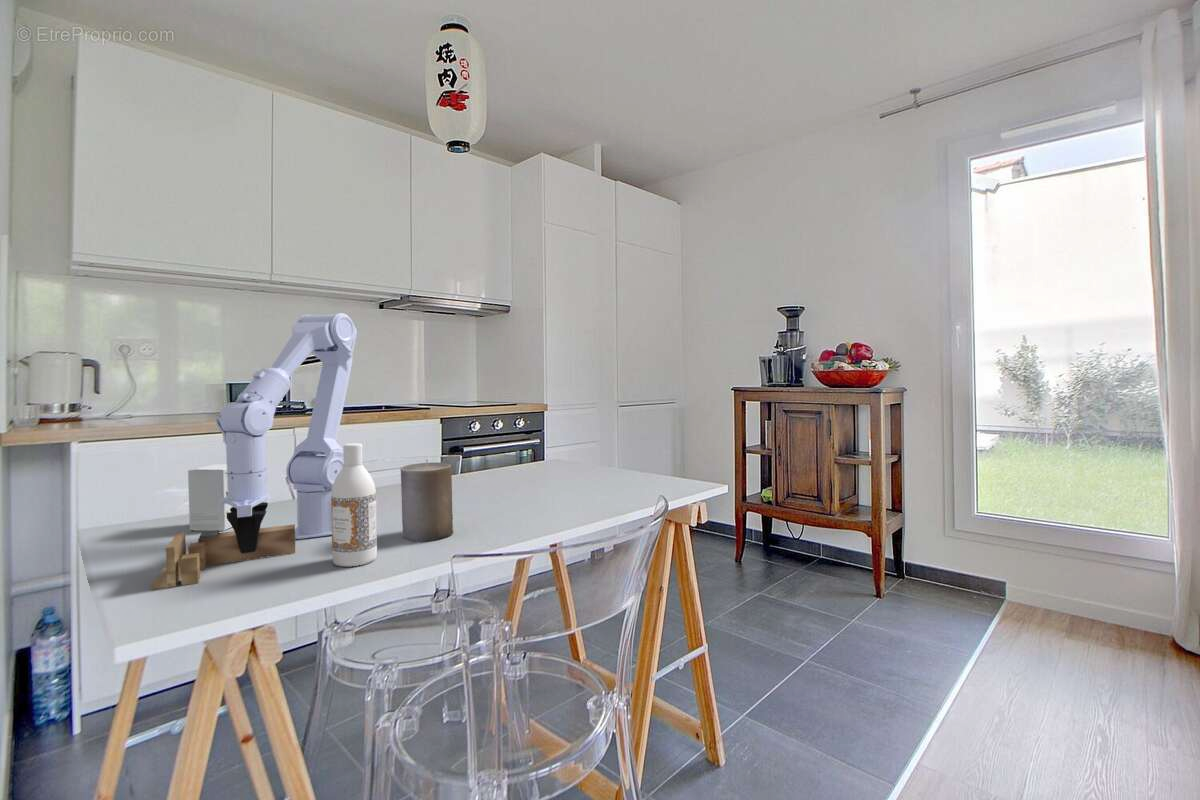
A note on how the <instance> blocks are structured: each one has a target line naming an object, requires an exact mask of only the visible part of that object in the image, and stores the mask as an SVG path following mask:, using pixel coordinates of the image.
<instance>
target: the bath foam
mask: <svg viewBox="0 0 1200 800" xmlns="http://www.w3.org/2000/svg"><path fill="white" fill-rule="evenodd" d="M342 449H343V455H344V467H343V468H342V470H341V471H340V473H339V474H338V476H337V477H336V479H335V481H334V483H333V487H332V492H331V513H332V535H331V543H332V544H331V545H332V546H331V547H332V548H331V550H332V562H333V564H334V565H336V566H338V567H343V568H345V567H346V568H353V567H359V565H360V566H363V565H367V564H369V563H372V562H374V561H375V560H376V559H377V557H378V536H377V535H378V534H377V533H378V532H377V531H378V529H377V525H378V524H377V522H378V521H377V520H378V519H377V492H376V491H377V490H376V485H375V482H374V479H373V478H372V476H371V474H370V473H369V471H368V470H367V469H366V468H365V466H364V465H363V444H362V443H359V442H358V443H356V442H353V443H345V444H343V447H342ZM352 566H353V567H352Z"/></svg>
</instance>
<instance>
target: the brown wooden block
mask: <svg viewBox="0 0 1200 800" xmlns="http://www.w3.org/2000/svg"><path fill="white" fill-rule="evenodd" d="M295 528H296V525H295V524H287V525H277V526H269V527H260V529H259V535H258V542H257V547H256V551H255V552H249V553H241V552H240V549H239V545H238V541H237V538H236V534H235V531H234V530H231V531H225V532H224V531H222V532H220V531H219V530H215V531H201V533H200V535H199V537H198V539H197V542H206V566H212V565H219V563H221V564H226V563H225V562H228V563H233V562H232V561H236V562H240V561H239V560H243V561H248V560H247V559H250V560H255V559H254V558H258V559H261V558H260V557H265V558H268V557H267V556H273V557H276V556H275V555H280V556H283V555H282V554H288V555H291V554H290V553H295V554H296V539H295Z"/></svg>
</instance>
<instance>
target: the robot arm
mask: <svg viewBox="0 0 1200 800" xmlns="http://www.w3.org/2000/svg"><path fill="white" fill-rule="evenodd" d="M354 324H355V323H354V322H353V320H352V319H351V317H350V316H349V315H347V314H346V313H342V312H340V313H335V314H334V313H332V314H330V313H329V314H306V313H305V314H303V315H301V316H300V317H299V318H298V319H297V320H296V323H294V324H293V325H292V327H291V331H292V335H291V336H290V338H289V340H288V341H287V343H286V344H285V345H284V347H283V349H282V350H281V352H280V353H279V354H278V356H277V357H276V360H274V362H273V364H272V366H271V367H265V368H261V369H260V370H256V371H255V372H254V374H253V375H252V377H253V378H252V380H251V381H250V382H249V384H248V385H247V386H245V387H246V388H244V389H243V390H242V392H240V393H239V395H238V396H237V399H236V400H235V401H233V402H230V403H227V404H226V405H225V406H223V408H222V409H221V410H220V412H219V413H218V414H219V415H218V418H216V419H215V422H216V423H215V424H216V427H217V428H218V430H219V431H220V432H221V434H222V438H223V441H222V442H224V444H225V454H226V455H225V457H226V458H225V459H226V464H227V488H228V497H225V498H220V500H219V502H220V504H229V505H231V506H233V507H231V508H230V511H231V512H229V513H227V519H228V521H229V522H230V524H231V525H232V527H231V528H232V529H233V531H235V534H236V538H237V541H238V545H239V549H240V552H241V553H249V552H255V551H256V547H257V542H258V535H259V529H260V528H261V525H262V522H263V520H264V518H265V516H266V514H267V508H268V505H269V504H268V502H266V501H268V500H269V494H268V493H267V492H268V490H267V486H268V485H267V458H266V457H267V456H266V433H268V432H269V430H270V429H272V427H273V425H274V417H275V413H276V409H277V407H278V405H279V404H280V402H281V401H282V400H283V399H284V397H285V396H286V394H288V392H289V391H290V389H291V388H292V383H291V380H290V377H291V376H292V375H293V374H294V373H295V372H296V371H297V370H298V368H299V367H300V366H301V365H302V363H304V362H305V360H306V359H307V358H308V357H309V356H310V354H312V355H313V356H314V357H315V358H317V359H319V361H320V362H321V364H322V366H321V370H320V373H319V380H318V383H317V388H316V394H315V398H314V404H313V407H312V413H311V418H310V422H309V426H308V431H307V436H306V438H305V439H304V440H303V441H301V442H300V443H299V444H297V445H296V446H295V447H294V449H293V454H292V457H291V458H290V460H289V461H288V463H287V466H286V469H285V470H286V471H285V472H286V473H285V474H286V478H287V480H288V482H290V484H291V485H292V486H293V490H296V513H297V514H296V515H297V516H296V521H297V523H296V525H297V527H296V526H295V540H302V539H303V540H304V539H309V538H317V537H327V536H332V513H331V492H332V487H333V483H334V481H335V479H336V477H337V476H338V474H339V473H340V471H341V470H342V468H343V467H344V455H343V447H342V446H340V445H339V443H337V441H338V436H339V431H340V426H341V421H342V416H343V413H344V412H343V410H344V405H345V401H346V396H347V391H348V387H349V381H350V378H351V377H350V376H351V372H352V371H351V370H352V367H353V356H354V355H353V354H354V349H355V345H356V339H357V334H358V330H357V328H356V326H355V325H354Z"/></svg>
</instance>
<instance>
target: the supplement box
mask: <svg viewBox="0 0 1200 800" xmlns="http://www.w3.org/2000/svg"><path fill="white" fill-rule="evenodd" d="M187 475H188V476H187V477H188V479H187V480H188V509H189V513H188V515H189V519H188V520H189V531H190V530H194V532H199V531H200V532H206V531H215V530H219V532H224V531H225V532H226V530H228V529H231V528H233V527H232V525H231V524H230V522H229V521H228V519H227V513H229V512H231V511H230V508H231V507H233V506H231V505H229V504H220V502H219V500H220V498H225V497H228V488H227V463H226V464H225V463H223V464H220V463H219V464H218V463H217V464H216V463H215V464H211V465H210V464H209V465H206V466H205V465H204V466H201V467H196V468H192V469H188V471H187Z"/></svg>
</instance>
